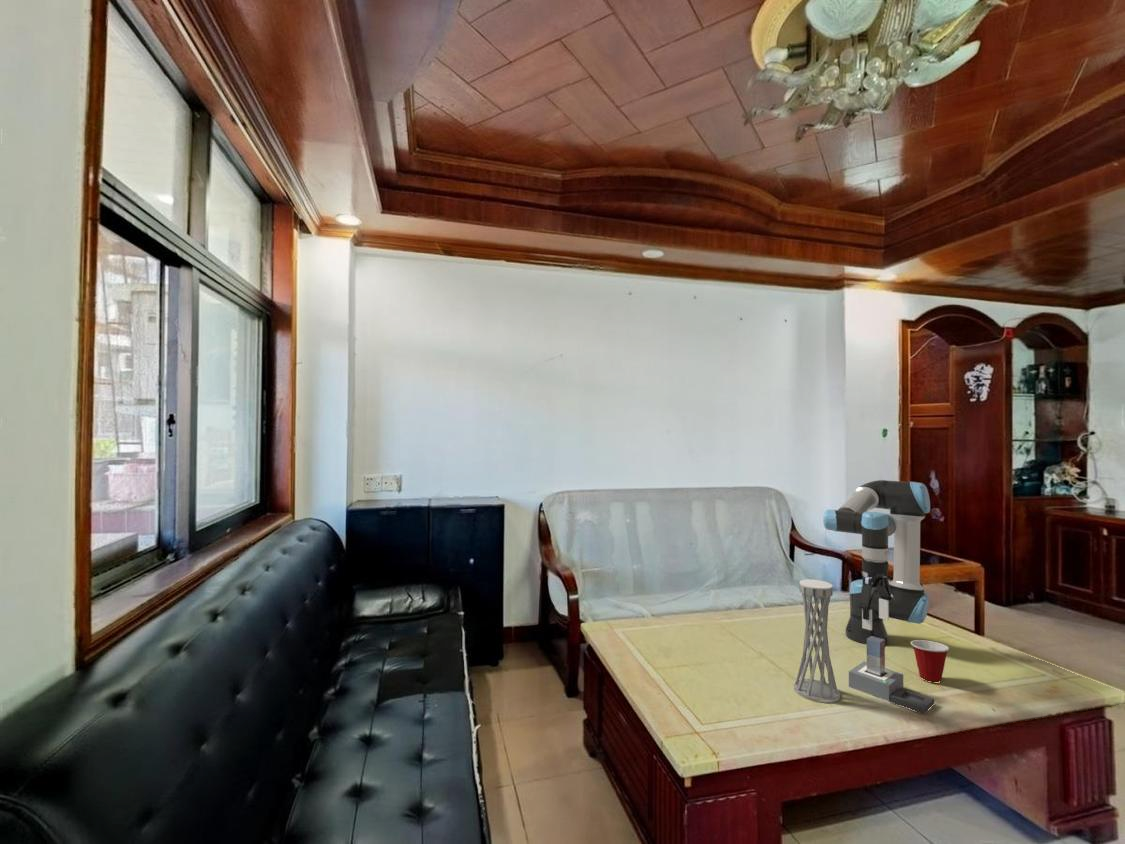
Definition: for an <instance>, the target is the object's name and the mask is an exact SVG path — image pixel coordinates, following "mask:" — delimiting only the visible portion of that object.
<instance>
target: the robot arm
mask: <svg viewBox="0 0 1125 844" xmlns="http://www.w3.org/2000/svg"><path fill="white" fill-rule="evenodd" d="M851 494H852V495H851V497H850V498H849V499H847V500H846V502H844V504H842V506H840V507H839V508H838V509H826V510H825V511H824V514H823V526H824V528H825V529H826V530H828V531H833V532H841V533H847V534H848V533H849V534H858V535H861V558H862V561H861V564H862V565H861V568H862V571H864V572H865V573H867V576H866V577H865V576H863V577H862V579H856V580H853V581H851V583H850V585H849V586H850V587H849V613H850V614H849V615H850V616H849V619H848V620H847V623H846V626H845V636H846V637H847V638H848V639H849V640H852V641H854V642H857V643H860V644H865V645H867V638H869V637H870V636H874V637H877V638H881V639H884V640H885V645H887V644H888V643H889V634H888V630H887V628H886V626H885V623H884V620H885V621H889V620H890V619H893V620H894V619H895V620H899V621H903V622H907V623H914V624H918V625H920V624H923V623H924V622H925V620H926V618H927V615H928V612H929V607H930V606H929V605H930V595H929V594H927V592H926V593H925V587H923V585H921V583H920V578H921V577H920V576H921V575H920V572H921V570H920V569H921V564H920V563H921V551H920V550H921V522H922V520H924V519H925V518H926V514H929V513H930V511H931V500H930V494H929V490H928V487H927V486H926V485H925V484H924V483H922V482H915V481H902V480H900V481H899V480H885V479H884V480H883V479H879V480H872V481H870V482H869V481H868V482H866V483H864V484H861V485H860V486H858V487H857V488H855V490H854V491H853V492H852V493H851ZM873 509H883V510H889V513H884V512H881V511H880V512H878V511H870V510H873ZM890 536H893V576H892V578H893V579H892V580H891V581H889V577H888V573H889V571H890V570H889V569H890V568H889V567H890V566H889V555H890V554H891V552H890V551H889V537H890Z"/></svg>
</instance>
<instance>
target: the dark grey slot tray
mask: <svg viewBox="0 0 1125 844" xmlns="http://www.w3.org/2000/svg"><path fill="white" fill-rule="evenodd" d="M890 702H893V703H895V704H894V705H896V704H898V705H901V706H904V707H907V708H910V709H912V710H915V711H917V712H920V713H922V714H921V715H923V714H925V713H926V712H927V711H928V709H929V708H930V707H931V706H932V705H933V704H934V705H935V698H934V697H931V696H927V695H925V694H922V693H918V692H917V691H913V690H910V689H908V688H905V687H903V688H902V687H901V688H900V689H898V690H897V691H896V692H895V693H894V694H892V695H891V696H890V701H889V703H890ZM893 703H892V704H893ZM898 705H897V706H898ZM901 706H900V707H901ZM904 707H903V708H904ZM912 710H911V711H912ZM917 712H916V713H917ZM928 712H929V711H928ZM928 712H927V713H928ZM920 713H919V714H920ZM927 713H926V714H927ZM926 714H925V715H926Z"/></svg>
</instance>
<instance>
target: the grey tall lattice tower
mask: <svg viewBox="0 0 1125 844" xmlns="http://www.w3.org/2000/svg"><path fill="white" fill-rule="evenodd" d="M833 586H834V585H833V584H832V583H830V582H827V581H824V580H818V579H809V578H808V579H802V580H801V579H800V581H799V592H800V593H801V595H802V601H803V611H804V612H803V613H804V622H805V623H804V624H805V628H804V629H805V630H804V638H803V639H804V640H803V649H802V657H801V660H800V664H799V669H798V671H797V676H796V677H797V678H796V681H795V682H794V684H793V690H794V691H795V693H796V694H797V695H799V696H800V697H802V698H804V699H807V700H808V701H809V700H810V701H812V702H818V703H826V704H829V703H831V704H833V703H835V702H838V701H839V700H840V696H841V694H840V690H839V689H838V687H837V682H836V679H835V674H834V670H833V666H832V662H831V656H830V647H829V638H828V621H829V619H828V618H829V608H830V607H829V606H830V601H831V597H833V594H834V593H833ZM812 600H813V602H814V607H813V603H812ZM819 605H820V607H819ZM816 616H817V617H816ZM820 649H821V656H820ZM813 650H814V651H815V652H814V653H815V654H814V657H813V656H812V653H813ZM812 657H813V658H812ZM817 664H818V669H819V673H820V680H819V679H815V678H814V677H815V673H816V668H817ZM808 666H809V667H808ZM808 668H809V676H810V677H809V678H805V677H806V674H807V670H808ZM825 668H826V672H827V681H826V677H825Z"/></svg>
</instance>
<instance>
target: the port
mask: <svg viewBox="0 0 1125 844" xmlns="http://www.w3.org/2000/svg"><path fill="white" fill-rule="evenodd" d="M848 687H849V688H852V689H854V690H857V691H860V692H862V691H863V693H865V692H866V693H865V694H868V693H869V694H868V695H870V694H872V695H871V696H873V695H875V696H874V697H876V696H877V697H876V698H879V697H881V698H883V699H882V700H884V699H886V700H885V701H887V700H890V696H891V695H892V694H894V693H895V692H896V691H897V690H898V689H900V688H901V687H902V688H904V673H901V672H898V671H895V670H891V669H888V668H886V667H885V676H883V677H882V678H881V677H878V676H875V675H872V674H869V673H867V661H862V662H860V663H859V664H857V665H856V666H854V667H853V668H851V669H850V670H849V671H848ZM881 698H880V699H881Z"/></svg>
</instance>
